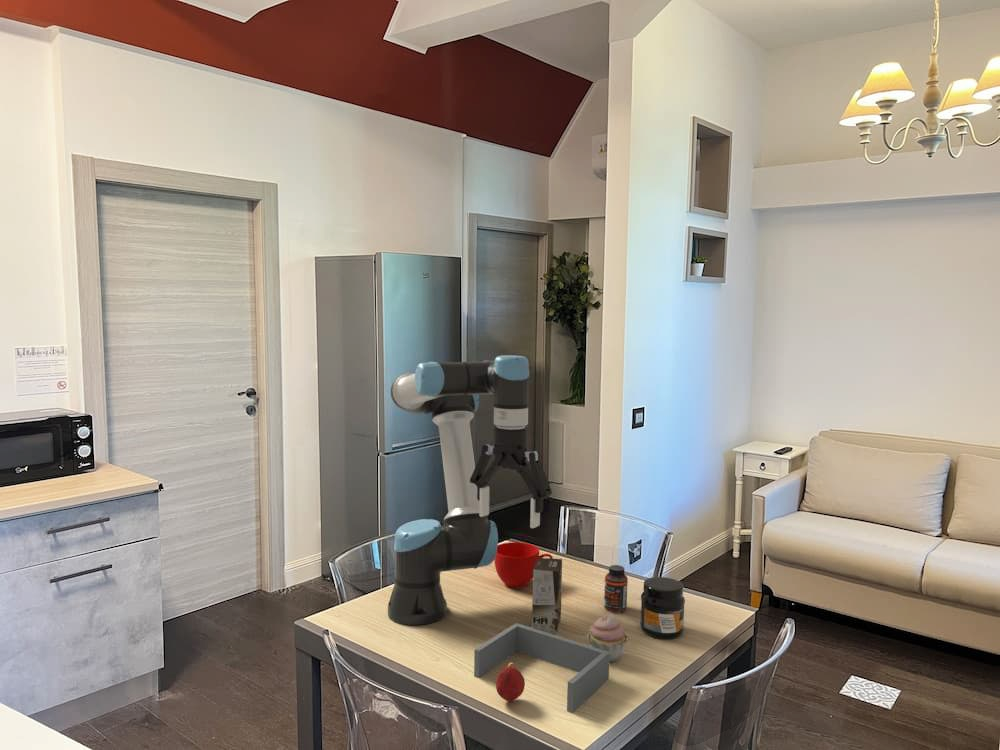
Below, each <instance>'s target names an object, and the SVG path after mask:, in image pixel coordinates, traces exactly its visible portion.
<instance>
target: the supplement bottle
mask: <svg viewBox="0 0 1000 750" xmlns="http://www.w3.org/2000/svg"><path fill="white" fill-rule="evenodd" d="M628 582H629V579H628V576H627V575H626V574H625V567H624V566H623V565H620V564H612V565H610V566H609V567H608V573H606V574H605V577H604V593H603V594H604V595H603V596H604V597H603V607H604V609H605V610H606V611H608V612H610V613H617V614H618V613H619V614H620V613H622V612H625V611H626V610H627V607H628V606H627V605H628V604H627V603H628Z"/></svg>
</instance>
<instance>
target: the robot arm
mask: <svg viewBox="0 0 1000 750" xmlns="http://www.w3.org/2000/svg"><path fill="white" fill-rule="evenodd" d="M529 365H530V364H529V359H528V358H527V357H526V356H522V355H514V354H513V355H509V354H508V355H498V356H496V357H495V359H493V360H492V359H490V360H489V359H488V360H487V359H486V360H483V361H462V362H461V361H459V362H458V361H457V362H456V361H455V362H454V361H450V362H449V361H448V362H446V361H445V362H443V361H441V362H436V361H429V362H421V363H418V365H417V366H416V369H415V372H406V373H403V374H401V375H399V376H398V377H397V378H395V379H394V381H393V382H392V385H391V387H390V392H389V393H390V398H391V400H392V403H393V404H394V405H395V406H396V407H397V408H398V409H400V410H402V411H404V412H407V413H411V414H417V415H427V414H428V415H431V419H432V422H433V423H434V424H435V425H436V426H437V427H438V433H439V438H440V439H439V440H440V451H441V455H442V466H443V476H444V482H445V483H444V484H445V492H446V503H447V510H448V513H447V514H446V515H445V517H444V518H443V525H441V523H440V521H438V520H436V519H431V518H429V519H427V518H422V519H421V518H420V519H416V520H412V521H408V522H406V523H404V524H402V525H401V526H399V527H398V528H397V530H396V532H395V535H394V545H393V549H394V584H393V585H394V586H393V588H392V591H391V594H390V597H389V598H390V599H389V600H388V604H387V616H388V618H389V619H390V620H391V621H393V622H394V623H395V622H396V623H397V624H401V625H408V626H409V625H411V626H419V625H420V626H422V625H428V624H432V623H436V622H438V621H440V620H442V619H443V618H444V617H446V615H447V613H448V609H447V608H448V607H447V606H448V605H447V600H446V598H445V597H444V593H443V591H444V590H443V589H442V584H441V573H442V572H452V571H460V570H468V569H478V568H482V567H487V566H490V565H492V563H493V562H494V559H495V556H496V553H497V547H498V545H499V533H498V528H497V524H496V523H495V522H494V521H493V520H490V519H488V516H489V514H490V486H489V485H488V484H489V481H491V480H492V479H493V478H494V476H495V475H496V474H497V472H498V471H499V470H500V469H509V470H515V471H516V472H517V473H518V474H519V475H520V477H521V478H522V480H523V481H524V483H525V484H526V485H527V487H528V489H529V491H530V493H531V494H532V495H533V497H531V498H530V519H529V524H530V525H529V527H530V529H534V528H535V529H536V528H537V527H539V526H541V525H540V524H541V513H542V512H543V510H544V498H546V497H547V496H549V497H550V496H551V495H552V494H553V491H552V488H551V486H550V484H549V481H548V478H547V476H546V473H545V470H544V468H543V464H542V462H541V456H540V452H539V450H535V451H528V449H527V444H528V438H529V437H528V434H529V433H528V432H529V431H528V428H527V427H526V426H527V425H529V387H530V386H529V385H530V384H529V383H530V368H529V367H530V366H529ZM479 395H493V425H494V427H493V429H492V430H493V438H492V439H493V440H492V441H493V443H494V444H492V443H487V444H483V445H482V446H481V451H480V456H479V458H478V460H477V463H475V457H474V449H473V448H474V447H473V441H472V439H473V438H472V433H471V432H472V431H471V424H470V423H471V421H472V420H473V419H474V416H475V412H477V410H479V409H478V408H479V404H480V401H479V399H480V396H479ZM492 455H494V457H495V459H493V461H492V462H491V463H490V465H489V467H488V468H487V466H488V463H489V462H490V460H491V457H492ZM527 461H528V462H529V464H528V462H527ZM486 469H487V470H486ZM485 470H486V471H485ZM531 470H532V471H531Z"/></svg>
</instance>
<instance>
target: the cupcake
mask: <svg viewBox="0 0 1000 750" xmlns="http://www.w3.org/2000/svg"><path fill="white" fill-rule="evenodd" d="M589 629H590V630H588V634H586V637H587V639H588V641H589V643H590V646H591V647H594V648H598V649H601V650H604V651H607V652H610V660H609V663H615V662H618V661H620V659H621V658H622V655H623V654H624V653H623V652H624V649H625V648H624V647H625V646H626V644H627V642H628V638H629V637H628V635H626V634H625V629H624V628H623V625H622V624H621V623H619V622H618V620H617V619H616V617H614V616H613V615H610V614H608V613H607V614H605V616H604V617H599V618H598V619H596V621H595V622H594V623H593V624H592V625H591V626H590V628H589Z"/></svg>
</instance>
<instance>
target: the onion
mask: <svg viewBox="0 0 1000 750" xmlns="http://www.w3.org/2000/svg"><path fill="white" fill-rule="evenodd" d="M521 672H522V671H520V670H519V669H517V668H516V667H515V663H513V662H509V663H508V664H507V666H505V667H504V668H503V669H501V670H500V671H499V673H498V674H497V677H496V678H495V682H494V683H495V689H496V692H497V694H498V695H499V697H500V698H501V699H503V700H505V701H506V702H508V703H513V701H515V700H518V698H519V697H521V696H522V694H523V693H524V690H525V685H526V682H525V678H524V676H523V674H522V673H521Z"/></svg>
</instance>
